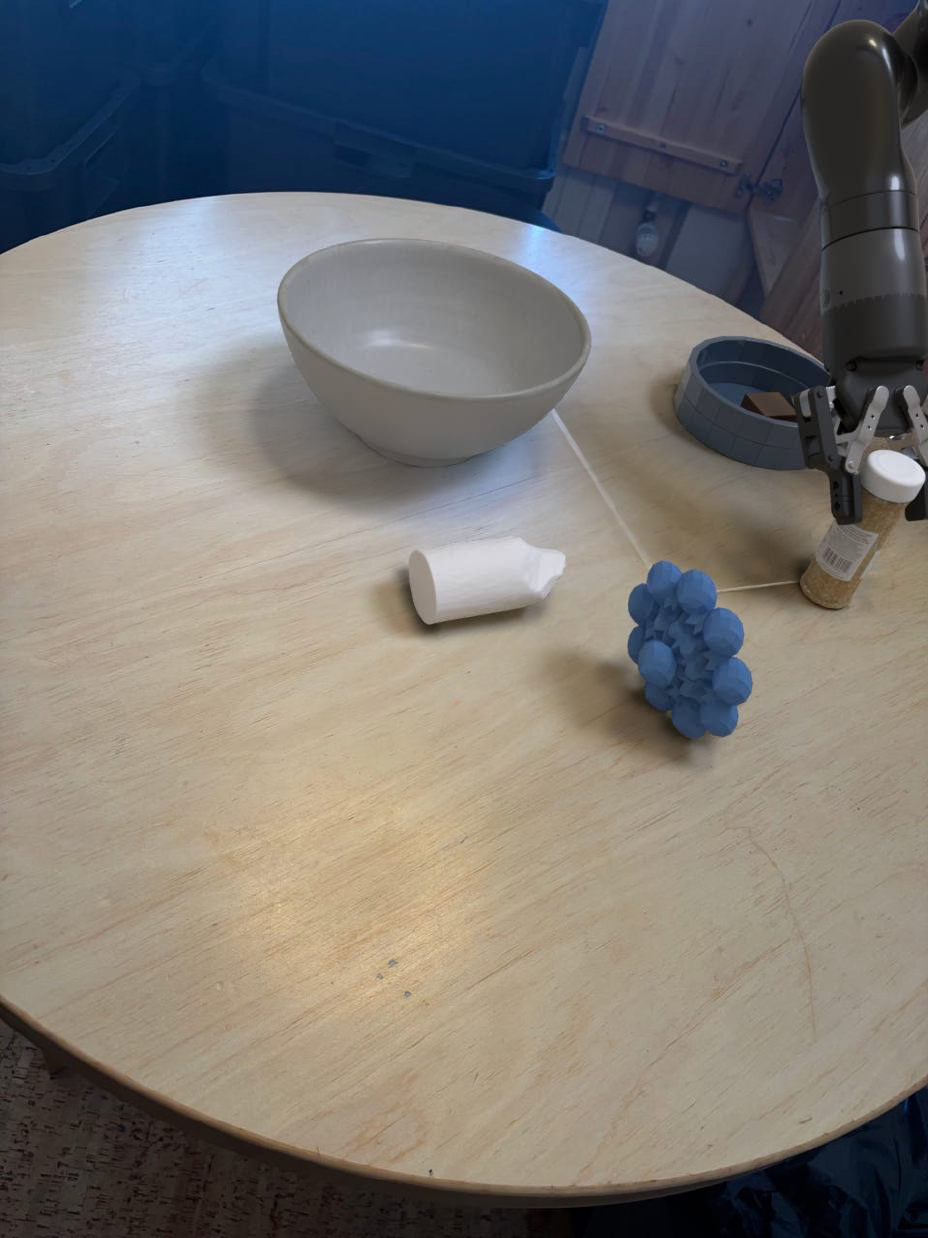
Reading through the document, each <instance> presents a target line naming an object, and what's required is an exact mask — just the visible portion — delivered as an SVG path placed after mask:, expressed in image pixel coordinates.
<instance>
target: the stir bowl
mask: <svg viewBox="0 0 928 1238" xmlns="http://www.w3.org/2000/svg"><path fill="white" fill-rule="evenodd" d="M829 379H830V373H828V372H827V371H826V370H825V368H824V364H823V363H821V362H820V361H818V360H817V359H815V358H813V357H812V356H809V355H807V354H805V353H803V352H801V351H799V350H797V349H795V348H793V347H791V346H788V345H784V344H781V343H779V342H774V341H772V340H768V339H762V338H758V337H752V336H746V335H720V336H715V337H711V338H708V339H707V338H706V339H704V340H703V341H701V342H700V343H698V344H696V345H695V346H693V347H692V349H691V352H690V354H689V357H688V359H687V362H686V365H685V367H684V370H683V373H682V376H681V378H680V381H679V384H678V387H677V389H676V392H675V395H674V397H673V401H672V402H673V407H674V412H675V415H676V417H677V419H678V421H680V423H681V424H682V425H683V427H684V428H685V429H686V430H687V432H689V433H690V434H691V435H692V436H694V437H695V438H696V439H697V440H698V441H699V442H700V443H702V444H703V445H705V446H706V447H708V448H710V449H712V450H714V451H716V452H717V453H720V454H722V455H723V456H725V457H727V458H730V459H733V460H735V461H739V462H741V463H745V464H747V465H750V466H753V467H757V468H763V469H770V470H777V471H785V470H787V471H788V470H804V469H808V468H807V467H806V466H805V463H804V457H803V452H802V446H801V441H800V435H799V429H798V424H797V420H796V422H788V421H782V420H776V419H772V418H769V417H766V416H763V415H760V414H757V413H754V412H751V411H748V410H746V409H744V408H742V407H740V405H741V402H742V400H743V398H744V395H745V393H767V392H779V393H780V394H781V395H782V396H783V397H784V398H785V400H786V401H787V402H788V403H789V404H790V405H791V406H792V407H793V408H794V409H795V407H794V401H793V398H794V396H795V394H797V393H799V392H802V391H805V390H808V389H811V388H814V387H817V386H823V387H825V388H826V387H827V385H828V382H829ZM792 397H793V398H792ZM831 417H832V423H833V428H834V427H835V424H836V421H837V418H838V415H837V414H836V412H835V411H834V409H832V410H831Z"/></svg>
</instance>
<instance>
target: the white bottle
mask: <svg viewBox="0 0 928 1238" xmlns="http://www.w3.org/2000/svg"><path fill="white" fill-rule="evenodd" d="M566 561H567V556H566V555H565V553H563V552H562V551H560V550H557V549H552V548H546V547H542V548H541V547H537V546H534V545H532V544H529V543H528V542H526V541H525V540H524V539H523V538H521V537H520V536H517V535H507V536H506V535H505V536H499V537H492V538H484V539H474V540H463V541H456V542H453V543H449V544H444V545H439V546H438V545H437V546H433V547H426V548H420V549H414V550H413V551H412V552H411V553H410V556H409V559H408V578H409V580H408V581H409V586H410V591H411V596H412V602H413V605H414V608H415V610H416V613H417V614H418V616H419V617H420V619H421V620H422V621H423V622H424V623H425V625H433V624H439V623H442V622H443V623H444V622H449V621H453V620H458V619H459V620H460V619H465V618H472V617H477V616H483V615H488V614H494V613H499V612H506V611H511V610H518V609H521V608H525V607H528V606H531V605H534V604H536V603H539V602H541V601H543V600H545V599H546V598H547V596H548V595H549V594H550V592H551V591H552V589H553V587H554V586H555V585H556V584H557V582H558V581H559V580H560V579H561V578H562V576H563V574H564V570H565V569H566V568H567V565H566Z"/></svg>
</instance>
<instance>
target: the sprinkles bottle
mask: <svg viewBox="0 0 928 1238" xmlns="http://www.w3.org/2000/svg"><path fill="white" fill-rule="evenodd" d="M857 474H860V476H861V493H862V511H863V519H862V522H861V523H859V524H851V525H838V524H837V522H836V518H834V517H833V520H832V522H831V524H830V526H829V527H828V529H827V531H826V532H825V534H824V537H823V538H822V540H821V542H820V544H819V545H818V547H817V549H816V551H815V554H814V556H813V558H812V560H811V562H810V563H809V565H808V566H807V569H806V570H805V572H804V573H802V575H801V576H800V579H799V584H800V585H799V586H800V589H801V591H802V592H803V594H804V595H805V596H806V597H807V598H808V599H809V600H810V601H812V602H813V603H816V604H818V605H819V606H821V607H824V608H828V609H841V608H845V607H846V606H848V605H849V604H850V603H851V602H852V600H853V598H854V597H853V596H854V594H855V592H856V591H857V588H858V587H859V586H860V584H861V582H862V581H863V580H864V578H865V577H866V576H867V574H868V573H869V571H870V569H871V568H872V566H873V564H874V563H875V562H876V559H877V558H878V556H879V555H880V553H881V551H882V549H883V546H884V545H885V543H886V541H887V540H888V538H889V537H890V535H891V533H892V532H893V530H894V528H896V525H897V523H898V522H899V520H900V519H901V517H902V515H903V513H905V508H906V506H907V505H908V504H909V503H910V502H911V501H912V500H913V499H914V498H915V497H916V496H917V494H918V492H919V491H920V489H921V487H922V485H923V484H924V482H925V473H924V470H923V469H922V468H921V466H920V465H919V464H918V463H917V462H915V461H914V460H913V459H911V458H909V457H907V456H905V455H903V454H901V453H898V452H896V451H894V450H891V449H877V450H874V451H872V452H870V453H869V454H868V455H867V456H866V458H865V460H864V462H863V463H862V464H861V467H859V469H858V472H857Z"/></svg>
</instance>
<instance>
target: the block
mask: <svg viewBox="0 0 928 1238" xmlns="http://www.w3.org/2000/svg"><path fill="white" fill-rule="evenodd" d="M740 407H742V408H744V409H746V410H748V411H751V412H754V413H757V414H760V415H763V416H766V417H769V418H772V419H776V420H782V421H788V422H796V420H797V418H796V413H795V409H794V408H793V407H792V406H791V405H790V404H789V403H788V402H787V401H786V400H785V398H784V397H783V396H782V395H781V394H780V393H779V392H767V393H745V395H744V398H743V400H742V402H741V405H740Z"/></svg>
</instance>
